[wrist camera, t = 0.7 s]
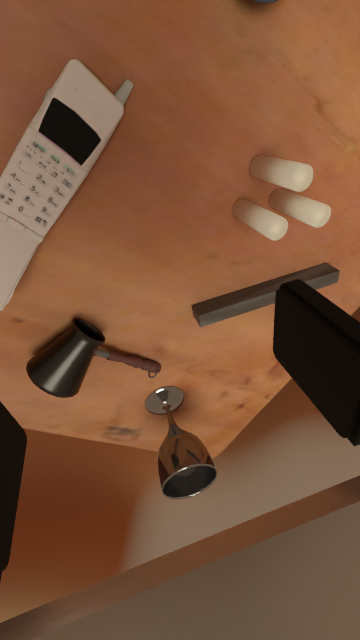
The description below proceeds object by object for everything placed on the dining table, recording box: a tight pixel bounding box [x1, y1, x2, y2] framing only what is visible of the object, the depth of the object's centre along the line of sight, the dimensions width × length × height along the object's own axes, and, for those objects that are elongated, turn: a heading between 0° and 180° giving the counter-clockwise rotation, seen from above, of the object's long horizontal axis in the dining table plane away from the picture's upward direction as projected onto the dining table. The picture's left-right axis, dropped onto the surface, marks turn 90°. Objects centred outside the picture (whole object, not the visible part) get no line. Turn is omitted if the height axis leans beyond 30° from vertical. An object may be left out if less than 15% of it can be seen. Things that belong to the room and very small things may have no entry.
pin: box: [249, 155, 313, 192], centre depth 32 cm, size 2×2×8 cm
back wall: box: [192, 263, 339, 327], centre depth 44 cm, size 2×22×3 cm, turn 101°
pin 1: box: [232, 199, 288, 240], centre depth 34 cm, size 2×2×8 cm
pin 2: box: [269, 189, 331, 228], centre depth 34 cm, size 2×2×8 cm
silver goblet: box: [145, 386, 217, 499], centre depth 47 cm, size 8×8×15 cm
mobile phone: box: [0, 59, 134, 311], centre depth 28 cm, size 6×6×25 cm
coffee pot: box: [26, 318, 161, 398], centre depth 42 cm, size 8×18×8 cm
